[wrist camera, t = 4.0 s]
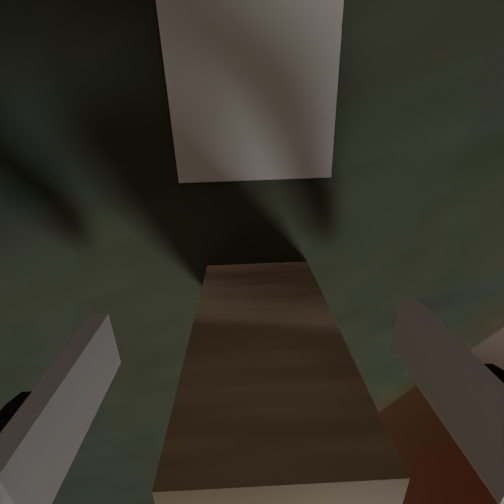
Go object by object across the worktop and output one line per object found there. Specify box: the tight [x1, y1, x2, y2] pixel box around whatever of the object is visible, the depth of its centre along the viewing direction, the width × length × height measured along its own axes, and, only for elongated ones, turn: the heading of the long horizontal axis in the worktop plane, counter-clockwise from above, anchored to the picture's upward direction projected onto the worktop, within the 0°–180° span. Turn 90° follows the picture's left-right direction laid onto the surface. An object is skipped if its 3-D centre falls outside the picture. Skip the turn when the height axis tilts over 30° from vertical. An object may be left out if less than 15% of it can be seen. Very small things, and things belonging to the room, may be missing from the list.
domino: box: [152, 261, 410, 504], centre depth 13 cm, size 2×6×12 cm, turn 92°
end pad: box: [156, 0, 344, 183], centre depth 14 cm, size 8×8×1 cm
